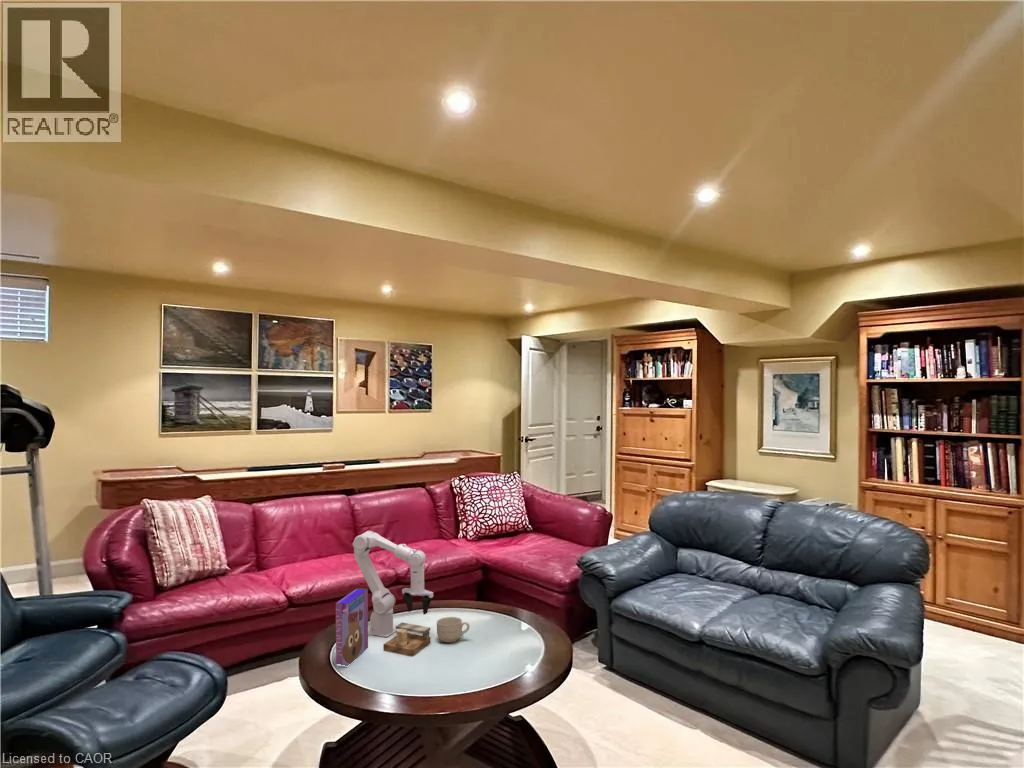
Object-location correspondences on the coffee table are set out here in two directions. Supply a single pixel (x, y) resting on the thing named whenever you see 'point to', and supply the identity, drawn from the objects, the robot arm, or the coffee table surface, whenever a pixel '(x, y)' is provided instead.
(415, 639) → the socket block
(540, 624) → the coffee table surface
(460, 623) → the teacup
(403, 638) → the peg
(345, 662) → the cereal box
